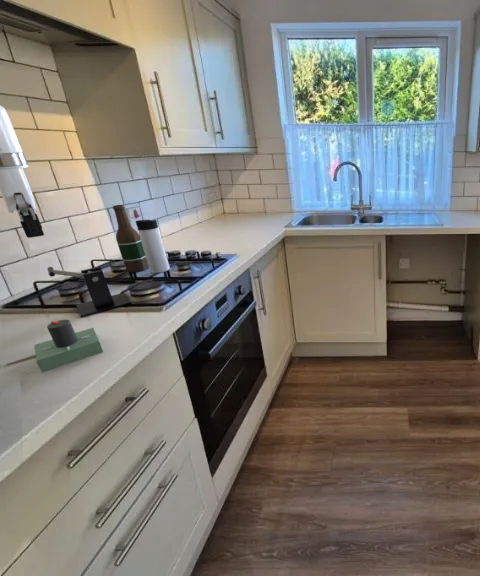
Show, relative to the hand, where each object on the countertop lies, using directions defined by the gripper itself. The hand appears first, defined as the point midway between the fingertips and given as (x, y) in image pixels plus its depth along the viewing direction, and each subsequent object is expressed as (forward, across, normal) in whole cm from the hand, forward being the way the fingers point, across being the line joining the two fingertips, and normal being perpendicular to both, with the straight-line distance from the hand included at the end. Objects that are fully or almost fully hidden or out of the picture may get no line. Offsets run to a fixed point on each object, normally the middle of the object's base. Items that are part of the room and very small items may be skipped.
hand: (35, 232), depth 91 cm
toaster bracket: (+24, 0, +8) cm, 26 cm away
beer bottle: (+25, -32, +23) cm, 47 cm away
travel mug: (+25, -22, +28) cm, 43 cm away
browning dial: (+21, +24, -2) cm, 32 cm away
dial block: (+24, +24, -2) cm, 34 cm away
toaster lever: (+14, 0, +4) cm, 14 cm away
